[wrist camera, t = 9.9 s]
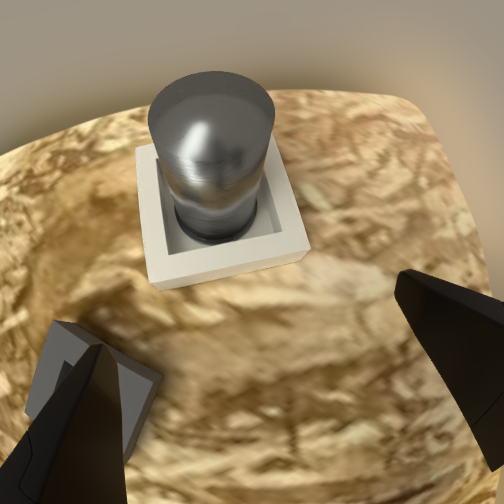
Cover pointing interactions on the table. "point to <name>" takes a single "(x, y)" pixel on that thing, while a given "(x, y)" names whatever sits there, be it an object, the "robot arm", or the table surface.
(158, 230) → the tray
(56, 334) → the block
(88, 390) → the robot arm
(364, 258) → the table surface
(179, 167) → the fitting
